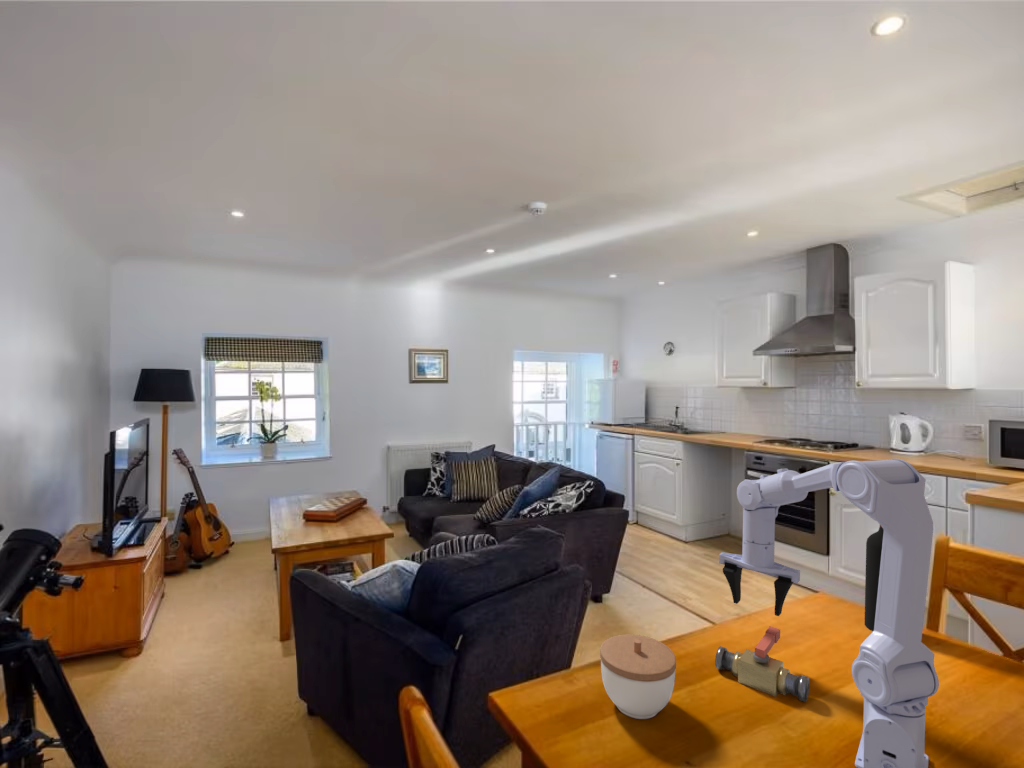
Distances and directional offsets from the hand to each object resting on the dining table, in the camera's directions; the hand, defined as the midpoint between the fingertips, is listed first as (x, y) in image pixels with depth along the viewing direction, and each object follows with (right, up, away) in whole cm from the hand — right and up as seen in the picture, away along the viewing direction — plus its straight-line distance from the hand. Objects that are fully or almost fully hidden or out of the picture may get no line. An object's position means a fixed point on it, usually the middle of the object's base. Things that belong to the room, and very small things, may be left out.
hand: (757, 607), depth 100 cm
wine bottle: (+35, -11, +13) cm, 39 cm away
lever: (0, -6, -5) cm, 8 cm away
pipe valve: (-3, -11, -8) cm, 13 cm away
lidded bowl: (-27, -11, -14) cm, 33 cm away
